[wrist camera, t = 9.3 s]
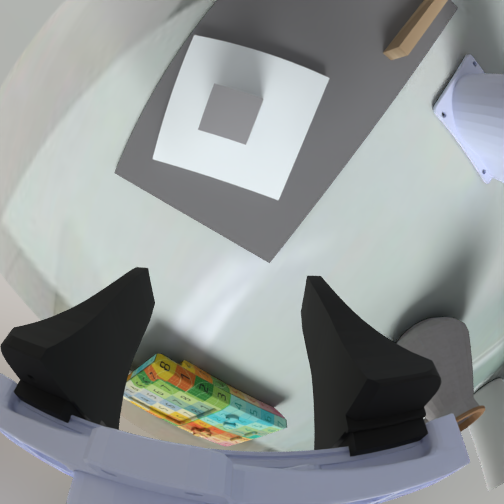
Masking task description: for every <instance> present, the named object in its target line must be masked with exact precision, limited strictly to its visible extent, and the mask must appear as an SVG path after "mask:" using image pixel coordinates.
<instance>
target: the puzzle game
mask: <svg viewBox="0 0 504 504" xmlns="http://www.w3.org/2000/svg"><path fill="white" fill-rule="evenodd" d="M123 398H124V399H126V400H128V401H129V402H131V403H133V404H135V405H136V406H138V407H140V408H142V409H144V410H145V411H147V412H149V413H151V414H153V415H155V416H157V417H159V418H161V419H163V420H165V421H167V422H169V423H171V424H173V425H175V426H177V427H179V428H181V429H184V430H186V431H188V432H190V433H193V435H195V436H198V437H199V436H200V437H202V438H205V439H207V440H210V441H212V442H215V443H218V444H220V445H223V446H230V445H234V444H238V443H241V442H245V441H248V440H251V439H255V438H258V437H261V436H264V435H267V434H270V433H273V432H276V431H279V430H281V429H284V428H287V421H286V419H285V418H284V417H283V416H282V414H281V413H279V412H278V411H277V410H276V409H275V408H274V407H272V406H270V405H268V404H265V403H263V402H261V401H259V400H257V399H255V398H253V397H251V396H249V395H247V394H245V393H243V392H241V391H239V390H237V389H235V388H233V387H232V386H230V385H228V384H226V383H224V382H222V381H221V380H219V379H217V378H215V377H213V376H212V375H210V374H208V373H206V372H205V371H203V370H201V369H200V368H198V367H196V366H195V365H193V364H191V363H190V362H188V361H186V360H184V361H182V362H180V363H179V364H177V363H176V362H174V361H172V360H171V359H169V358H168V357H166V356H165V355H163V354H158V353H157V354H155V355H154V356H153V357H151V358H150V359H149V360H148V361H146V362H145V363H144V364H142V365H141V366H140V367H139V368H137V369H136V370H135V371H133V372H132V373H131V374H130V375H128V378H127V382H126V386H125V391H124V395H123Z"/></svg>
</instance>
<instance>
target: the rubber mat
mask: <svg viewBox="0 0 504 504" xmlns="http://www.w3.org/2000/svg"><path fill="white" fill-rule="evenodd" d="M423 1H424V0H217V1H216V2H215V4H214V5H213V6H212V7H211V8H210V10H209V11H208V12H207V13H206V15H205V16H204V17H203V18H202V20H201V21H200V22H199V23H198V25H197V26H196V27H195V29H194V30H193V31H192V33H191V34H190V36H189V37H188V38H187V40H186V41H185V43H184V44H183V45H182V47H181V48H180V50H179V51H178V53H177V54H176V56H175V57H174V59H173V60H172V62H171V63H170V65H169V67H168V68H167V70H166V71H165V73H164V75H163V76H162V78H161V80H160V81H159V83H158V85H157V86H156V88H155V90H154V92H153V93H152V95H151V97H150V99H149V101H148V102H147V104H146V106H145V108H144V110H143V112H142V114H141V116H140V118H139V120H138V122H137V124H136V126H135V128H134V130H133V132H132V134H131V136H130V138H129V140H128V142H127V145H126V147H125V149H124V151H123V154H122V156H121V158H120V161H119V163H118V165H117V168H116V170H115V173H116V174H117V175H119V176H121V177H122V178H124V179H126V180H128V181H129V182H131V183H133V184H134V185H136V186H138V187H140V188H141V189H143V190H145V191H146V192H148V193H150V194H152V195H153V196H155V197H157V198H159V199H160V200H162V201H164V202H165V203H167V204H169V205H171V206H172V207H174V208H176V209H177V210H179V211H181V212H183V213H184V214H186V215H188V216H189V217H191V218H193V219H195V220H196V221H198V222H200V223H201V224H203V225H205V226H207V227H208V228H210V229H212V230H214V231H215V232H217V233H219V234H220V235H222V236H224V237H226V238H227V239H229V240H231V241H232V242H234V243H236V244H238V245H239V246H241V247H243V248H244V249H246V250H248V251H250V252H251V253H253V254H255V255H257V256H258V257H260V258H262V259H263V260H265V261H267V262H269V263H270V262H271V260H272V259H273V258H274V257H275V255H276V254H277V253H278V252H279V250H280V249H281V248H282V247H283V245H284V244H285V243H286V242H287V240H288V239H289V238H290V237H291V235H292V234H293V233H294V231H295V230H296V229H297V228H298V226H299V225H300V224H301V222H302V221H303V220H304V219H305V217H306V216H307V215H308V213H309V212H310V211H311V210H312V208H313V207H314V206H315V204H316V203H317V202H318V201H319V199H320V198H321V197H322V195H323V194H324V193H325V191H326V190H327V189H328V188H329V186H330V185H331V184H332V182H333V181H334V180H335V178H336V177H337V176H338V174H339V173H340V172H341V171H342V169H343V168H344V167H345V165H346V164H347V163H348V161H349V160H350V159H351V157H352V156H353V155H354V153H355V152H356V151H357V149H358V148H359V147H360V145H361V144H362V143H363V141H364V140H365V139H366V137H367V136H368V135H369V133H370V132H371V131H372V129H373V128H374V126H375V125H376V124H377V122H378V121H379V120H380V118H381V117H382V116H383V114H384V113H385V111H386V110H387V109H388V107H389V106H390V105H391V103H392V102H393V100H394V99H395V98H396V96H397V95H398V94H399V92H400V91H401V89H402V88H403V87H404V85H405V84H406V82H407V81H408V80H409V78H410V77H411V75H412V74H413V73H414V71H415V70H416V68H417V67H418V65H419V64H420V63H421V61H422V60H423V58H424V57H425V55H426V54H427V53H428V51H429V50H430V48H431V47H432V45H433V44H434V42H435V41H436V40H437V38H438V37H439V35H440V34H441V32H442V31H443V29H444V28H445V26H446V25H447V23H448V22H449V20H450V19H451V17H452V16H453V14H454V13H455V11H456V10H457V6H456V5H455V4H454V3H453V2H452V1H451V0H448V1H447V2H446V3H445V5H444V6H443V8H442V9H441V10H440V12H439V13H438V15H437V16H436V17H435V19H434V20H433V22H432V23H431V24H430V26H429V27H428V29H427V30H426V31H425V33H424V34H423V35H422V37H421V38H420V40H419V41H418V42H417V44H416V45H415V46H414V48H413V49H412V51H411V52H410V53H409V55H408V56H404V57H401V58H397V59H394V60H390V59H389V58H388V57H387V56H386V55H384V54H383V52H384V51H385V50H386V48H387V47H388V46H389V44H390V43H391V42H392V40H393V39H394V38H395V37H396V35H397V34H398V33H399V31H400V30H401V29H402V28H403V26H404V25H405V24H406V22H407V21H408V20H409V19H410V17H411V16H412V15H413V14H414V12H415V11H416V10H417V8H418V7H419V6H420V5H421V3H422V2H423ZM194 35H197V36H202V37H207V38H212V39H216V40H221V41H225V42H229V43H233V44H237V45H240V46H244V47H248V48H251V49H254V50H258V51H261V52H264V53H267V54H270V55H273V56H276V57H279V58H282V59H285V60H287V61H290V62H293V63H295V64H298V65H300V66H303V67H305V68H308V69H310V70H312V71H315V72H317V73H319V74H322V75H324V76H326V77H328V78H329V81H328V83H327V86H326V88H325V90H324V93H323V95H322V98H321V100H320V102H319V105H318V107H317V110H316V112H315V115H314V117H313V119H312V122H311V124H310V127H309V129H308V131H307V134H306V136H305V138H304V141H303V143H302V146H301V148H300V150H299V153H298V155H297V158H296V160H295V162H294V165H293V167H292V170H291V172H290V174H289V177H288V179H287V181H286V184H285V186H284V189H283V191H282V193H281V196H280V198H279V200H276V199H273V198H271V197H268V196H265V195H262V194H259V193H257V192H254V191H251V190H248V189H245V188H242V187H239V186H237V185H234V184H231V183H228V182H225V181H222V180H219V179H216V178H213V177H209V176H206V175H203V174H200V173H197V172H194V171H191V170H187V169H184V168H181V167H177V166H174V165H171V164H167V163H164V162H160V161H157V160H154V159H153V155H154V151H155V147H156V144H157V140H158V136H159V133H160V129H161V126H162V122H163V119H164V116H165V112H166V109H167V106H168V103H169V100H170V97H171V94H172V91H173V88H174V85H175V82H176V79H177V77H178V74H179V71H180V69H181V66H182V63H183V61H184V58H185V56H186V53H187V51H188V48H189V46H190V43H191V41H192V39H193V36H194Z"/></svg>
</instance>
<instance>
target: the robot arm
mask: <svg viewBox="0 0 504 504" xmlns="http://www.w3.org/2000/svg"><path fill="white" fill-rule="evenodd" d="M473 63H474V65H473ZM433 110H434V113H435V114H436V116H437V117H438V118H439V119H440V120H441V122H442V123H443V124H444V125H445V126H446V128H447V129H448V130H449V132H450V133H451V134H452V135H453V137H454V138H455V139H456V141H457V142H458V143H459V145H460V146H461V148H462V149H463V150H464V152H465V153H466V155H467V156H468V158H469V159H470V161H471V162H472V164H473V165H474V167H475V168H476V170H477V171H478V173H479V175H480V176H481V178H482V180H483V181H484V182H485V183H487V184H488V183H490V181H491V180H492V178H495V179H497V180H499V181H501V182H503V183H504V74H487V73H485V72H484V71H483V70H482V68H481V67H480V65H479V64H478V63H477V61H476V60H475V59H474V57H473V56H472V55H470V54H468V55H466V56H465V57H464V59H463V61H462V62H461V64H460V66H459V67H458V69H457V71H456V72H455V74H454V76H453V77H452V79H451V80H450V82H449V83H448V85H447V87H446V88H445V90H444V91H443V93H442V94H441V96H440V97H439V99H438V100H437V102H436V103H435V105H434V107H433ZM442 112H443V113H444V116H443V117H442ZM482 171H483V173H482ZM154 305H155V301H154V296H153V292H152V287H151V282H150V277H149V271H148V268H139V267H136V268H134V269H132V270H131V271H129V272H128V273H126V274H125V275H123V276H122V277H120V278H119V279H117V280H116V281H115V282H113V283H112V284H110V285H109V286H107V287H106V288H104V289H103V290H101V291H100V292H98V293H97V294H95V295H94V296H92V297H91V298H89V299H87V300H86V301H84V302H82V303H80V304H78V305H77V306H75V307H73V308H71V309H69V310H66V311H64V312H62V313H60V314H57V315H55V316H53V317H50V318H47V319H44V320H41V321H38V322H35V323H32V324H28V325H24V326H19V327H14V328H13V329H12V330H11V332H10V333H9V334H8V336H7V337H6V339H5V340H4V341H3V343H2V344H1V352H2V354H3V356H4V358H5V360H6V361H7V363H8V364H9V365H10V367H11V368H12V369H13V371H14V372H15V373H16V375H17V376H18V377H19V379H20V381H19V383H18V384H17V383H15V382H14V381H13V380H12V379H10V378H8V377H6V376H5V375H3V374H1V373H0V432H1V433H3V434H4V435H5V436H6V437H7V438H8V439H10V440H11V441H13V442H14V443H15V444H17V445H18V446H20V447H21V448H23V449H25V450H26V451H27V452H29V453H31V454H32V455H34V456H36V457H37V458H39V459H40V460H42V461H44V462H45V463H47V464H49V465H51V466H52V467H54V468H56V469H58V470H60V471H61V472H63V473H65V474H67V475H69V476H71V477H73V480H72V484H71V487H70V491H69V494H68V498H67V502H66V504H379V503H382V502H386V501H389V500H392V499H395V498H398V497H401V496H404V495H407V494H410V493H412V492H415V491H418V490H420V489H423V488H425V487H428V486H430V485H433V484H435V483H437V482H439V481H440V480H442V479H444V478H446V477H448V476H449V475H451V474H453V473H454V472H456V471H458V470H459V469H461V468H463V467H464V466H465V465H467V464H469V462H470V459H469V456H468V453H467V450H466V447H465V444H464V441H463V438H462V435H461V432H460V430H459V427H458V424H457V422H456V419H455V416H454V414H452V413H451V414H448V415H446V416H443V417H440V418H436V419H434V420H431V421H429V422H427V423H426V424H425V422H424V419H423V417H425V416H426V411H425V408H424V407H425V405H426V404H427V403H428V402H429V401H430V400H431V399H432V397H433V396H434V395H435V394H436V392H437V391H438V390H439V388H440V385H441V377H440V375H439V373H438V371H437V369H436V367H435V365H434V363H433V361H432V360H430V359H428V358H425V357H423V356H420V355H418V354H416V353H413V352H411V351H409V350H407V349H405V348H403V347H402V346H400V345H398V344H396V343H394V342H393V341H391V340H390V339H388V338H387V337H385V336H383V335H382V334H380V333H379V332H378V331H376V330H375V329H374V328H372V327H371V326H370V325H368V324H367V323H366V322H365V321H363V320H362V319H361V318H360V317H359V316H358V315H357V314H356V313H355V312H354V311H352V310H351V309H350V308H349V307H348V306H347V305H346V304H345V303H344V302H343V301H342V299H341V298H340V297H339V296H338V295H337V294H336V293H335V292H334V291H333V290H332V288H331V287H330V286H329V285H328V284H327V283H326V282H325V280H324V279H323V278H322V277H321V276H307V280H306V286H305V292H304V298H303V303H302V309H301V318H302V329H303V335H304V340H305V344H306V349H307V354H308V359H309V363H310V368H311V374H312V383H313V397H314V425H315V441H314V450H309V451H291V452H249V451H231V450H219V449H209V448H201V447H197V446H192V445H185V444H179V443H173V442H168V441H162V440H157V439H153V438H148V437H144V436H140V435H136V434H132V433H128V432H124V431H121V430H119V419H120V412H121V406H122V400H123V395H124V391H125V386H126V382H127V378H128V374H129V370H130V367H131V364H132V361H133V358H134V356H135V353H136V351H137V349H138V346H139V344H140V342H141V340H142V337H143V335H144V333H145V331H146V328H147V326H148V324H149V321H150V318H151V315H152V312H153V308H154Z"/></svg>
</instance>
